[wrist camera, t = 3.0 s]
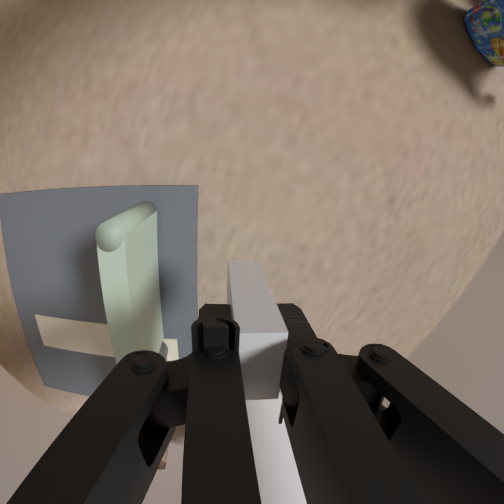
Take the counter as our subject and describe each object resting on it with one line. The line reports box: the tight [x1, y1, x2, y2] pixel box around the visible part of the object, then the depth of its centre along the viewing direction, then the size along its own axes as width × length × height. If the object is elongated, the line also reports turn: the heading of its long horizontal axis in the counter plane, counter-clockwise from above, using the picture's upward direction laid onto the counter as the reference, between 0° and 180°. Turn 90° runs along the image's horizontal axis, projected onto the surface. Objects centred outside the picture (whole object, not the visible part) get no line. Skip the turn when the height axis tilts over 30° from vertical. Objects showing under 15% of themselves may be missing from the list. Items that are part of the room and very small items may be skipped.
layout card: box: [0, 185, 198, 396], centre depth 21 cm, size 21×18×1 cm
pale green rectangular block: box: [95, 201, 168, 364], centre depth 17 cm, size 13×2×7 cm, turn 176°
